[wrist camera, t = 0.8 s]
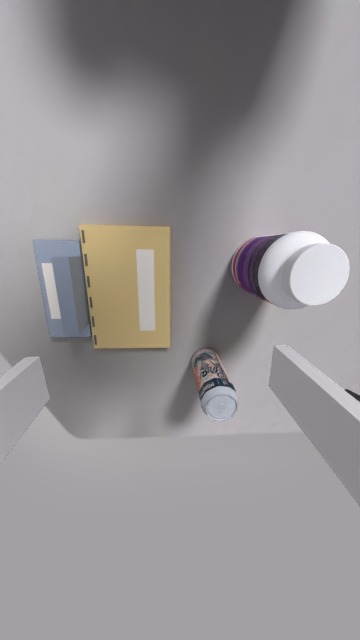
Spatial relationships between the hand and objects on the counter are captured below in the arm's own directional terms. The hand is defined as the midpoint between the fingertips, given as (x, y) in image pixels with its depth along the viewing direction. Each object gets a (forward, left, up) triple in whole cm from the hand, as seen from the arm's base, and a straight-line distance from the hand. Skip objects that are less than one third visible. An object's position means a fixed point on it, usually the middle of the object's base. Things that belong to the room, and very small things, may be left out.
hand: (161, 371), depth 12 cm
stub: (-1, -14, -22) cm, 26 cm away
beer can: (+11, +7, -23) cm, 26 cm away
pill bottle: (-5, +14, -23) cm, 27 cm away
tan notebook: (-1, -5, -22) cm, 23 cm away
